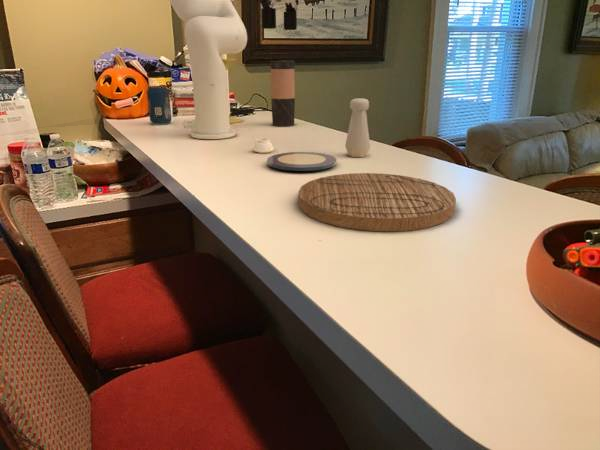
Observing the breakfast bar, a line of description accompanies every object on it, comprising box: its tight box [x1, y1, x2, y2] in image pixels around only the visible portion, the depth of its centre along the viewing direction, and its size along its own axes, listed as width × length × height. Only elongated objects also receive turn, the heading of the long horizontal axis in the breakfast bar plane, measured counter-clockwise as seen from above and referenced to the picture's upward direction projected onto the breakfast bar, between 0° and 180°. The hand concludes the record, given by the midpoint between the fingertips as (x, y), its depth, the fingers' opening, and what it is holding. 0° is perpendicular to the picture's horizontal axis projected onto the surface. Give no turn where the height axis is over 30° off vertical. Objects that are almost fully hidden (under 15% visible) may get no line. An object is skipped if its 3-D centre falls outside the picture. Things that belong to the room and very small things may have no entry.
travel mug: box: [270, 59, 296, 127], centre depth 151 cm, size 8×8×20 cm
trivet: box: [297, 172, 457, 232], centre depth 76 cm, size 25×25×2 cm
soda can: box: [146, 85, 172, 126], centre depth 156 cm, size 7×7×12 cm
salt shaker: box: [345, 97, 371, 158], centre depth 109 cm, size 6×6×13 cm
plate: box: [266, 151, 337, 172], centre depth 102 cm, size 15×15×1 cm
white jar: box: [252, 137, 275, 154], centre depth 115 cm, size 5×3×5 cm
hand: (280, 29), depth 108 cm, fingers open, 9 cm apart
